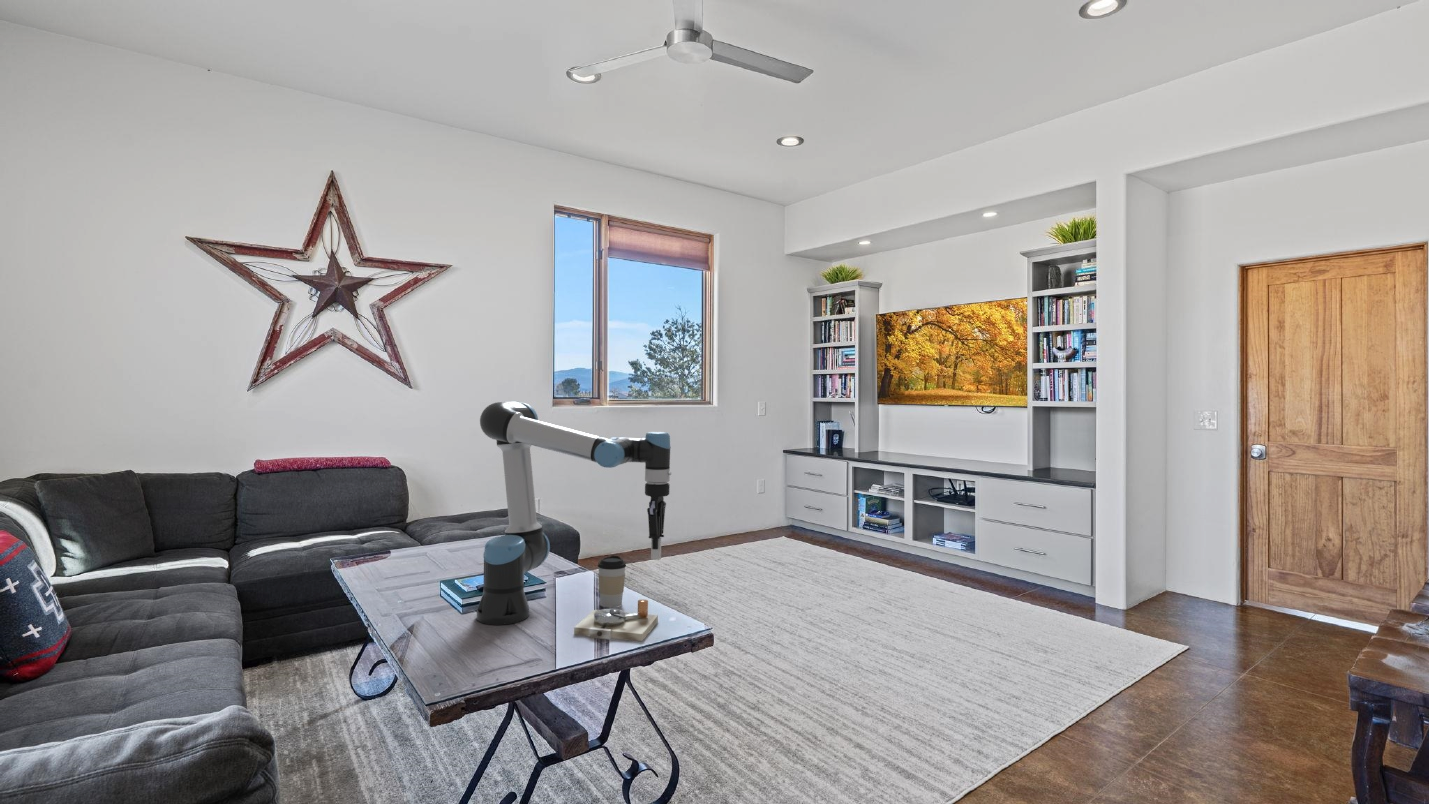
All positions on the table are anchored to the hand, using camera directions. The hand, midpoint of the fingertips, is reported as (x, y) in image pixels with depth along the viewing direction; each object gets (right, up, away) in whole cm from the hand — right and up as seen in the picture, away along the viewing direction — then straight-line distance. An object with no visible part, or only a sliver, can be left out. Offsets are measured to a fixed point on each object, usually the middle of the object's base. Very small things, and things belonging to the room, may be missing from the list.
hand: (655, 558), depth 210 cm
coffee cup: (-15, -17, +10) cm, 25 cm away
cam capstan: (-9, -15, -11) cm, 21 cm away
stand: (-10, -18, -11) cm, 23 cm away
